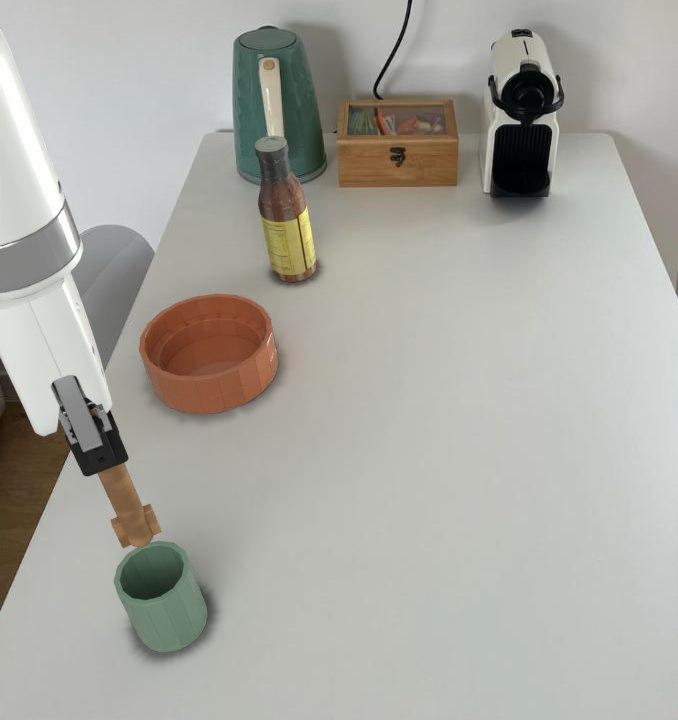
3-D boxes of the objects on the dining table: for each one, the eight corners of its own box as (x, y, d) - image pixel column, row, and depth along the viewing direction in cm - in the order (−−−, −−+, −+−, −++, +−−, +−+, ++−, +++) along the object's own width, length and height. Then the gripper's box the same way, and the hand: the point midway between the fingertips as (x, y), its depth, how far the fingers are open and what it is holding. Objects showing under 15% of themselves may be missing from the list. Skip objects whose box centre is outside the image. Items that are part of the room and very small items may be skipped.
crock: (148, 665, 71) (124, 617, 65) (131, 608, 75) (106, 559, 70) (216, 633, 73) (198, 584, 67) (195, 579, 77) (176, 529, 72)
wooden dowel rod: (124, 554, 64) (58, 416, 53) (118, 536, 65) (52, 397, 55) (164, 537, 65) (106, 398, 54) (157, 520, 66) (100, 380, 56)
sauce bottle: (300, 252, 116) (281, 123, 102) (326, 272, 112) (310, 140, 99) (262, 271, 113) (237, 140, 100) (286, 291, 109) (264, 159, 96)
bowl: (172, 435, 91) (159, 397, 87) (137, 356, 101) (125, 319, 97) (297, 387, 96) (291, 349, 92) (253, 316, 106) (245, 279, 102)
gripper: (-76, 195, 50) (30, 404, 62) (-49, 343, 39) (71, 558, 52) (49, 163, 52) (126, 370, 65) (105, 294, 42) (185, 511, 54)
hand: (101, 452), depth 58 cm, fingers closed on wooden dowel rod, 2 cm apart
